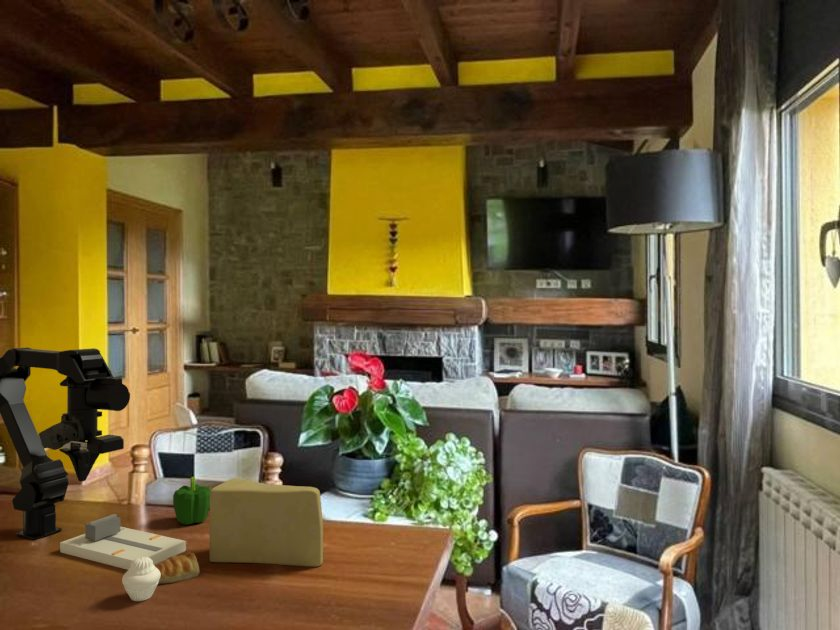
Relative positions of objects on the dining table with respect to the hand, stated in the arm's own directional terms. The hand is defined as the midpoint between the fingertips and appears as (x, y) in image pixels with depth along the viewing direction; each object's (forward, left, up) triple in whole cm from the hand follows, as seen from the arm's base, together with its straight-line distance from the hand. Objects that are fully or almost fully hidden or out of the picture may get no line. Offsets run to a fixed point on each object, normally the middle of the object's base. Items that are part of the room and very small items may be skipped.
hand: (82, 481), depth 135 cm
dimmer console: (+13, 0, -13) cm, 18 cm away
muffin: (+33, -13, -13) cm, 37 cm away
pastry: (+31, -4, -13) cm, 34 cm away
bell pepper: (+12, +20, -13) cm, 27 cm away
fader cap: (+7, 0, -11) cm, 12 cm away
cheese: (+42, +10, -13) cm, 45 cm away
